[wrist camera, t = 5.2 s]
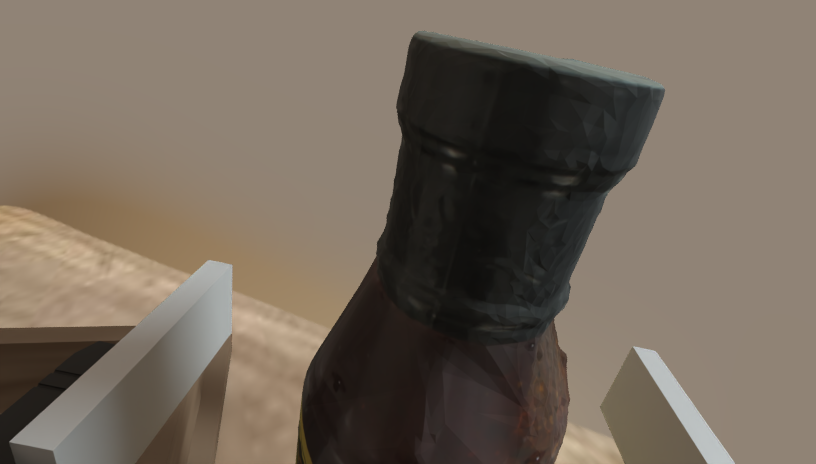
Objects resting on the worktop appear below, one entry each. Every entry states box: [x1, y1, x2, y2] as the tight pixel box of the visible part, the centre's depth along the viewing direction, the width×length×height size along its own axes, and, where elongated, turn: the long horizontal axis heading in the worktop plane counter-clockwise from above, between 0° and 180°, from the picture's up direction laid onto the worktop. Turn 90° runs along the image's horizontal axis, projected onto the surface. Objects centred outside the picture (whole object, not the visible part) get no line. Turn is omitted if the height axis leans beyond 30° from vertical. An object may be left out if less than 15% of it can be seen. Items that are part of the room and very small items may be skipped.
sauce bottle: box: [296, 31, 665, 464], centre depth 11 cm, size 7×6×20 cm
